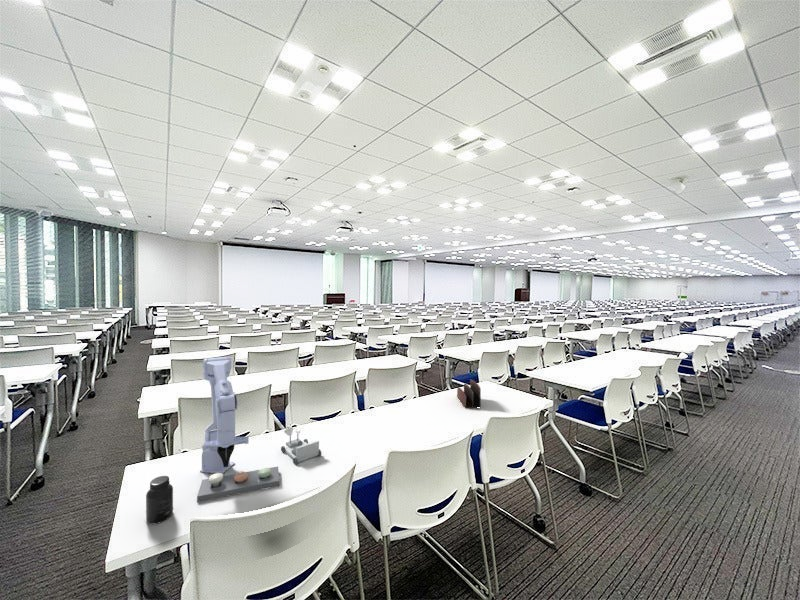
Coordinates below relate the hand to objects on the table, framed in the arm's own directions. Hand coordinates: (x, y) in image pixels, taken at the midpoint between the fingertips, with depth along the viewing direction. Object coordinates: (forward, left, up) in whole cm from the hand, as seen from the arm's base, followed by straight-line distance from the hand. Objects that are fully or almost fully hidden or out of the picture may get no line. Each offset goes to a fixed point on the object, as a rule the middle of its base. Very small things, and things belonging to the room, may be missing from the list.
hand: (226, 465), depth 118 cm
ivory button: (-3, -2, -7) cm, 7 cm away
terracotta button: (+4, +2, -8) cm, 9 cm away
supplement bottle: (-11, -17, -9) cm, 22 cm away
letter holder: (+94, +107, -9) cm, 143 cm away
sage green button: (+11, +6, -8) cm, 15 cm away
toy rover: (+15, +29, -9) cm, 34 cm away
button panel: (+4, +2, -8) cm, 10 cm away
